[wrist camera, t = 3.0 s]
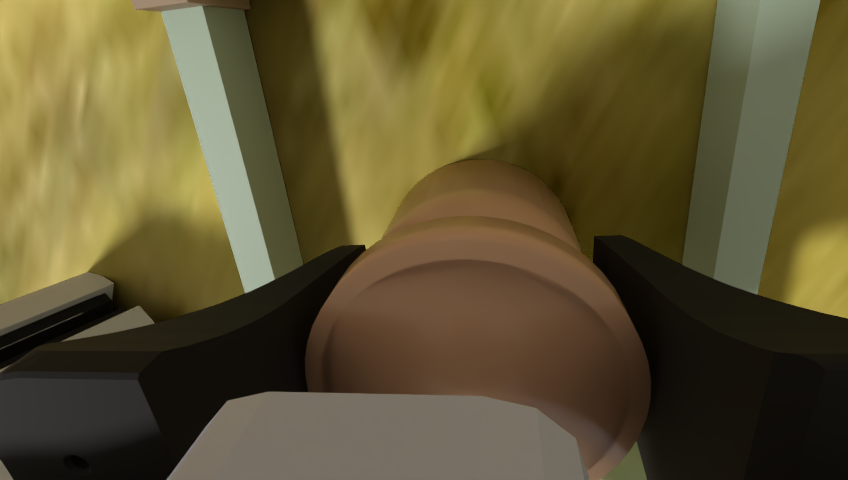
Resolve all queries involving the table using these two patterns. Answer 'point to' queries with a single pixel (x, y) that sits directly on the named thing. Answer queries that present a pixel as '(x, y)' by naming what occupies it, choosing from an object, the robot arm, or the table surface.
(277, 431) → the robot arm
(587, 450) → the pot
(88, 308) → the hinge
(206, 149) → the grey-green rectangular frame
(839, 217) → the table surface
